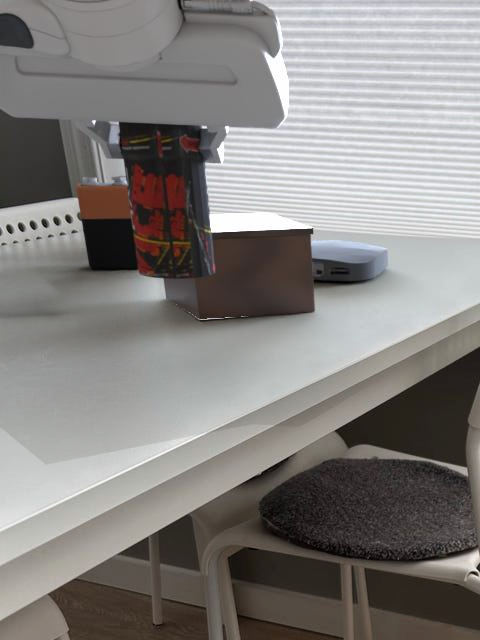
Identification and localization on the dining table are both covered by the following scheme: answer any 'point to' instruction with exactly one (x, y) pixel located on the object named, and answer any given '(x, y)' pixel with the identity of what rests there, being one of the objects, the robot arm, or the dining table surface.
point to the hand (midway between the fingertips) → (165, 154)
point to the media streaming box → (347, 260)
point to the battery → (107, 223)
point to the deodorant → (168, 200)
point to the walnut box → (251, 269)
